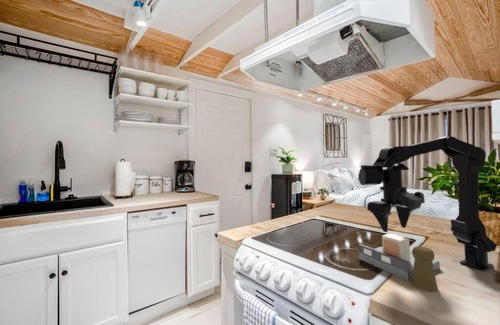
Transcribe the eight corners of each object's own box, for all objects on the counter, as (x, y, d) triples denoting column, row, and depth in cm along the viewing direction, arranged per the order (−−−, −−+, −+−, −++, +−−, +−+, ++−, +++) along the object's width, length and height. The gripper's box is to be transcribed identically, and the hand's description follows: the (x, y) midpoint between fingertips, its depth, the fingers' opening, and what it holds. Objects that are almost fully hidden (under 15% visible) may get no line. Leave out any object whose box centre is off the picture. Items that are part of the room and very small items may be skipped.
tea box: (410, 262, 78) (409, 238, 78) (400, 265, 76) (399, 241, 76) (391, 255, 84) (390, 233, 84) (382, 258, 82) (381, 235, 82)
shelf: (388, 251, 94) (388, 237, 94) (439, 268, 78) (438, 252, 78) (359, 259, 88) (358, 244, 88) (407, 280, 71) (406, 262, 71)
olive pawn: (412, 278, 72) (411, 242, 72) (438, 284, 69) (436, 246, 69) (410, 287, 68) (409, 249, 68) (437, 293, 64) (435, 253, 64)
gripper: (397, 188, 69) (399, 241, 69) (435, 183, 76) (437, 231, 76) (365, 185, 79) (367, 231, 79) (401, 181, 87) (403, 223, 87)
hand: (394, 229), depth 80 cm, fingers open, 9 cm apart
